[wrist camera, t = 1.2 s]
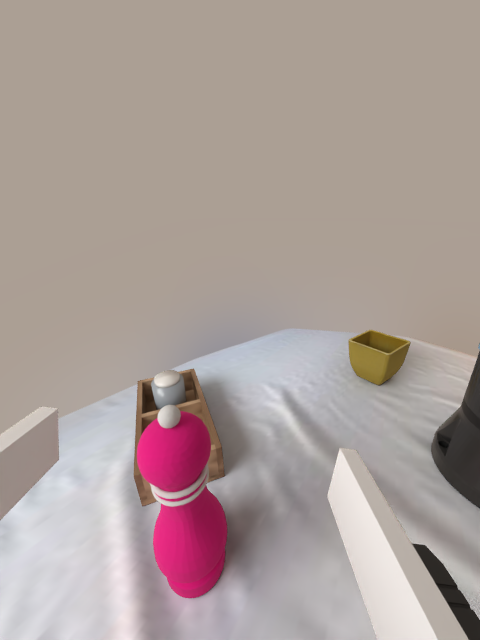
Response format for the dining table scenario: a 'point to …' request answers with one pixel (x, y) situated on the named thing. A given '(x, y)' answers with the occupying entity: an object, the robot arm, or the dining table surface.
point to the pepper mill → (183, 501)
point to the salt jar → (168, 389)
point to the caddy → (193, 405)
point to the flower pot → (377, 355)
